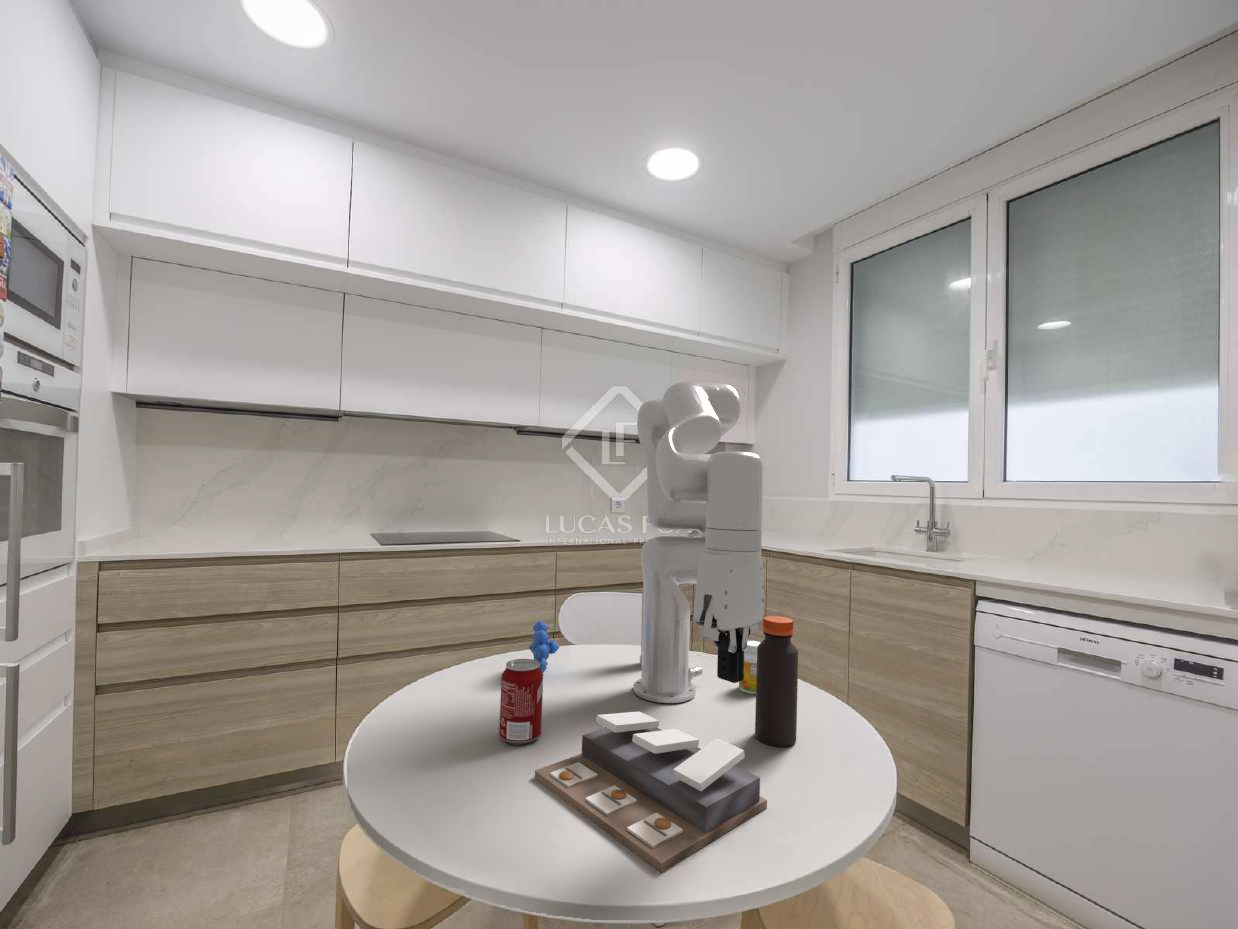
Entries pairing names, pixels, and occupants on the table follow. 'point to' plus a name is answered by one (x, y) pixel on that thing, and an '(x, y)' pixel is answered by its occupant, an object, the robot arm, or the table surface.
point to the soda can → (521, 701)
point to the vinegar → (776, 684)
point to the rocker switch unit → (650, 796)
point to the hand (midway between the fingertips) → (730, 679)
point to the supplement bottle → (750, 668)
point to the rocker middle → (665, 740)
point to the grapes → (542, 645)
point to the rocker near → (708, 764)
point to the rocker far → (627, 721)
